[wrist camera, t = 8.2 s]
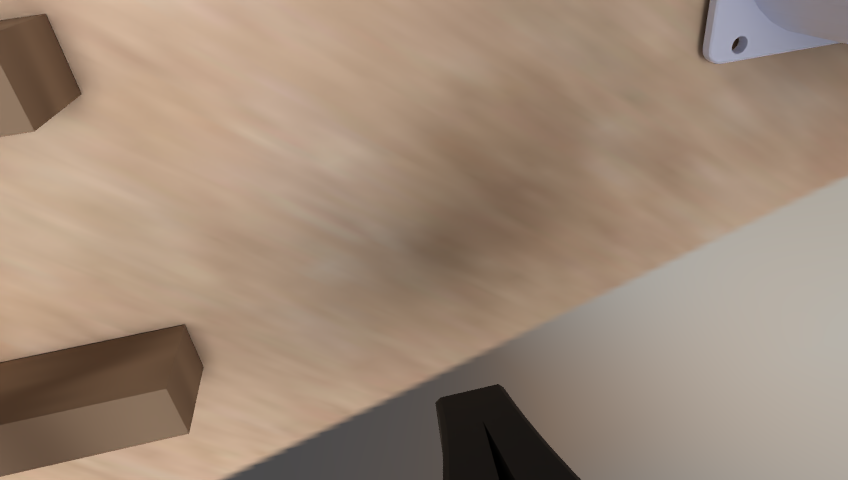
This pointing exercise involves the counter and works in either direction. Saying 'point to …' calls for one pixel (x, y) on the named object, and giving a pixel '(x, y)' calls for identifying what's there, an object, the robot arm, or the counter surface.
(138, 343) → the parallel wooden rails
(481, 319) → the counter surface
